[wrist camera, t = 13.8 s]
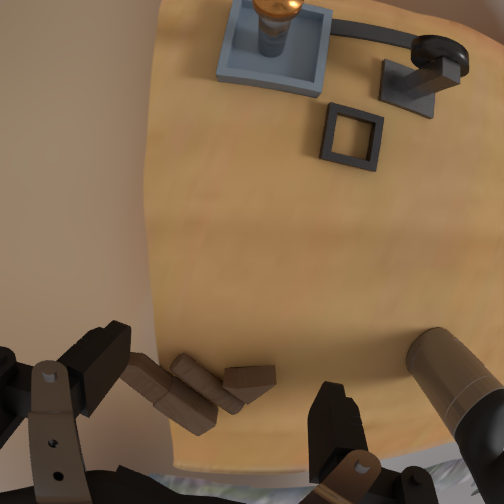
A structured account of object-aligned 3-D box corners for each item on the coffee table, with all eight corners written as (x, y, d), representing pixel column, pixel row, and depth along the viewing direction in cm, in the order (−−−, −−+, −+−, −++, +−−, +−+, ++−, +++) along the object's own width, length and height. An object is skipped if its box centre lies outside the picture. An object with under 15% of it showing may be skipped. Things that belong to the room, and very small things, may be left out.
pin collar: (379, 119, 34) (384, 117, 33) (371, 171, 36) (375, 171, 35) (327, 104, 34) (330, 102, 33) (318, 158, 36) (321, 158, 34)
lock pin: (291, 35, 31) (307, -20, 18) (286, 64, 32) (301, 16, 20) (255, 29, 31) (256, -28, 18) (249, 58, 32) (248, 7, 19)
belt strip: (420, 38, 31) (422, 37, 30) (422, 52, 31) (424, 51, 31) (327, 20, 31) (328, 18, 30) (328, 34, 32) (329, 32, 31)
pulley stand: (432, 75, 32) (483, 53, 21) (429, 119, 34) (483, 107, 22) (382, 55, 32) (425, 22, 20) (378, 100, 34) (424, 78, 22)
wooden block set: (201, 444, 42) (106, 377, 38) (205, 421, 47) (120, 356, 44) (282, 392, 38) (176, 306, 35) (280, 368, 44) (186, 288, 41)
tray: (327, 20, 31) (332, 10, 28) (316, 98, 34) (321, 92, 31) (236, 4, 30) (235, -7, 28) (218, 81, 34) (215, 74, 31)
